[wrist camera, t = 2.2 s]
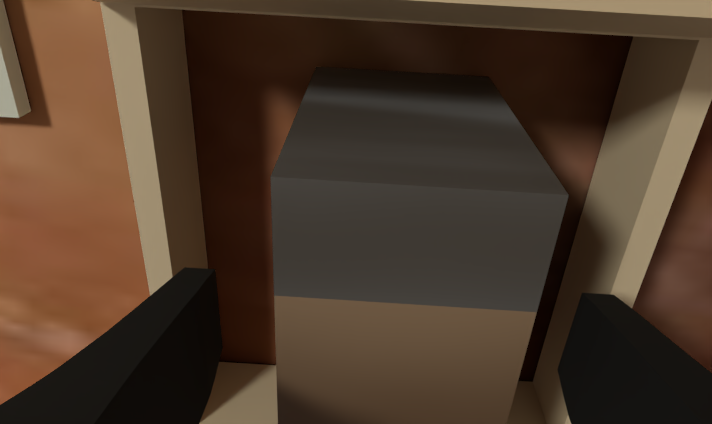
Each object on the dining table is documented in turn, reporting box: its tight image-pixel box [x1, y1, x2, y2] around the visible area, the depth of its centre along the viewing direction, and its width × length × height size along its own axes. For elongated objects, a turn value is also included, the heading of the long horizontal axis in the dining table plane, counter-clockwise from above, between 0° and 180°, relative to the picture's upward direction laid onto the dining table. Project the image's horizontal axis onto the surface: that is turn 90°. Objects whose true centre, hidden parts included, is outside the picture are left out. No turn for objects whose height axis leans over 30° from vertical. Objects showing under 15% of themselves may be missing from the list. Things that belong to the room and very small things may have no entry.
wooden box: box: [93, 0, 712, 424], centre depth 12 cm, size 13×11×5 cm
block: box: [271, 67, 569, 424], centre depth 12 cm, size 8×4×6 cm, turn 177°
